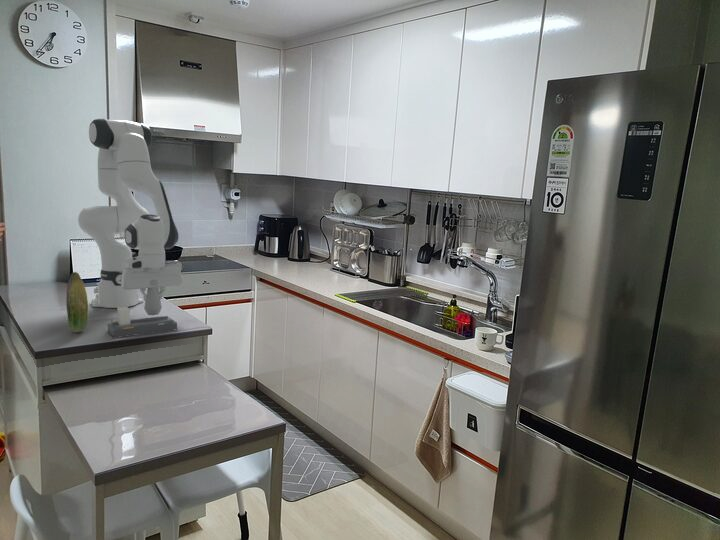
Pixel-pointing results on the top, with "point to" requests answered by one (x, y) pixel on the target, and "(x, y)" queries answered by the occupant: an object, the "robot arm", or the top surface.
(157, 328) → the switch plate
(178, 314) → the top surface
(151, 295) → the salt shaker
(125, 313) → the slider knob
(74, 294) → the vegetable
